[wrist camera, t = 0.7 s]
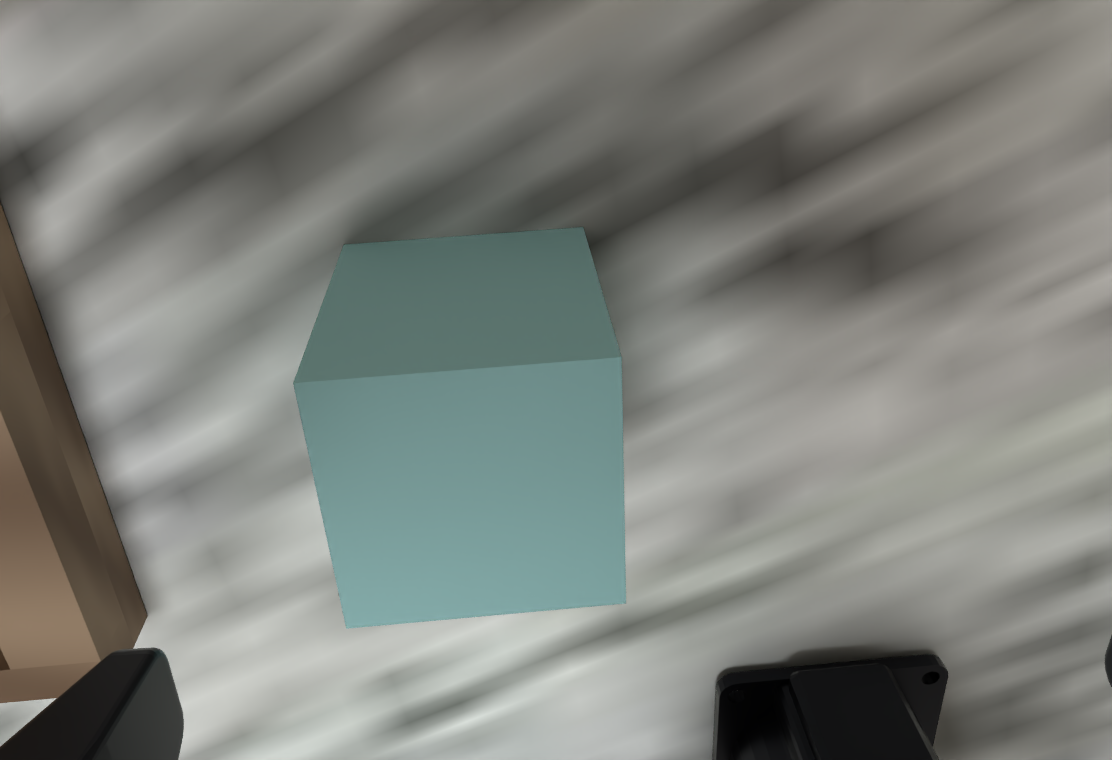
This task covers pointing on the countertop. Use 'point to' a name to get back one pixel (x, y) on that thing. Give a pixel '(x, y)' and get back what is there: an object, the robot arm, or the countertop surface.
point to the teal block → (467, 428)
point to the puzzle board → (51, 517)
